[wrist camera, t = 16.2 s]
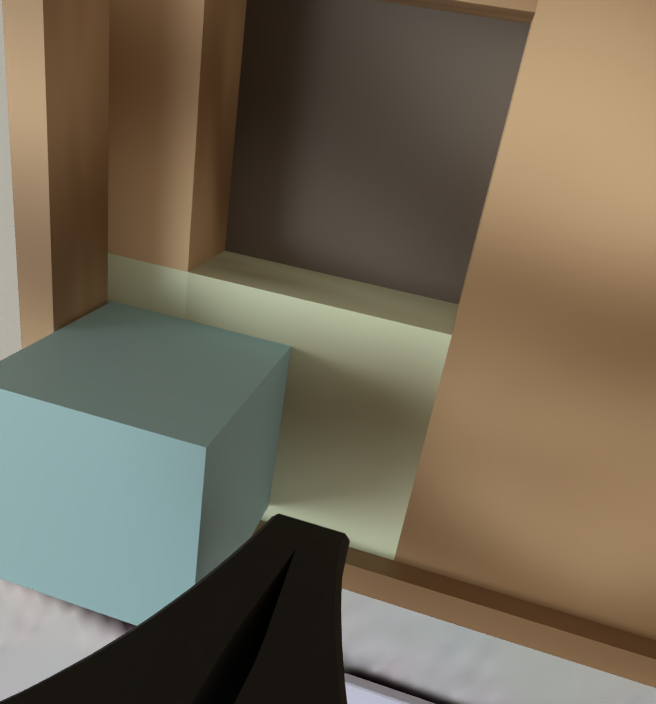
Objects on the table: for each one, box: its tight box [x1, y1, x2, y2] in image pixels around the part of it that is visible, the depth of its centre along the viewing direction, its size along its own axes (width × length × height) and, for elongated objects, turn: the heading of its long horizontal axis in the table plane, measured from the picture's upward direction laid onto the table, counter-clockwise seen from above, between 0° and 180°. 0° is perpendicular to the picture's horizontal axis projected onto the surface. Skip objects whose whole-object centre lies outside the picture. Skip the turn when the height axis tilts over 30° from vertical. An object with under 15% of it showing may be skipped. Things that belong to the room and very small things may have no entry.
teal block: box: [0, 301, 291, 626], centre depth 13 cm, size 4×4×4 cm
